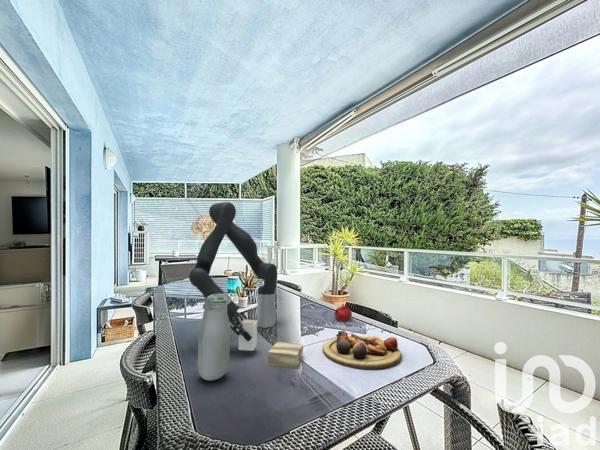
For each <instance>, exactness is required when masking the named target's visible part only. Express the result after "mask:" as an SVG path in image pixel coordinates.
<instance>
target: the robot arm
mask: <svg viewBox="0 0 600 450" xmlns="http://www.w3.org/2000/svg"><path fill="white" fill-rule="evenodd" d="M208 213H209V217H210V218H211V221H213V223H214V224H215V227H214V228H213V230H212V231H211V232H210V234H209V235H208V236H207V237H206V239H205V240H204V241H203V242H202V245H201V247H200V249H199V252H198V254H197V258H196V264H195V265H194V268H193V269H192V270H190V272H189V275H188V279H189V282H190V285H192V286H193V287H195V288H196V289H197V290H198V291H199V292H200V293H201V294H202V296H203V297H204V298H205V300H206V298H207V297H208V296H210V295H212V294H223V295H224V296H225V297H226V299H227V314H228V318H229V321H230V330H231V331H233V332H234V333H235V335H237V336H238V337H239V335H242V336H243V337H244V338H245V339H246V340H247V341H250V340H251V339H252V337H251V336H250V335H249V333H248V332H247V331H246V330H245V329H244V328H243V324H242V321H243V320H245V319H246V320H249V318H248V317H247V316H246V314H245V313H244V312H243V311H241V312H240V313H239V309H240V307H239V306H238V305H237V304H236V303H235V301H234V300H233V299H232V298H231V297H230V296H229V295H227V293H225V292H224V291H223V290H222V288H221V287H220V286H219V285H218V284H217V283H216V282H215V281H214V280H213V278H212V277H211V275H210V272H211V269H212V266H213V264H214V261H215V258H216V257H217V253H218V251H219V249H220V245H221V243H222V241H223V240H224V237H225V236H226V237H227V238H228V240H230V243H232V245H233V246H234V247H235V248H236V250H237V251H238V253H239V254H240V255H241V256H242V257H243V258H244V260H245V261H246V263H247V264H248V265H249V267H250V268H251V270H252V271H253V274H254V276H256V278H257V279H259V280H260V281H263V285H262V286H259V287H258V288H257V304H256V305H257V307H256V321H257V328H261V327H262V328H263V329H266V328H267V329H268V327H269V328H272V326H273V327H274V326H275V325H276V317H277V312H276V311H277V307H276V305H275V303H276V302H275V301H276V296H275V295H276V290H277V289H276V288H277V284H278V268H277V266H276V264H274V263H271V262H270V263H269V262H264V261H263V260H262V259H261V258H260V256H259V254H258V246H257V242H256V241H255V240H254V239H253V237H252V236H251V235H250V234H249V233H248V232H247V231H246V230H244V229H243V228H242V227H239V226H238V225H237V224H235V222H233V221H234V220H235V218H236V214H237V209H236V206H235V205H234V204H233V203H232V202H230V201H224V202H223V201H222V202H217V203H213V204H212V205H211V206H210V207H209V211H208ZM239 324H240V326H239ZM274 324H275V325H274ZM241 328H242V329H241Z"/></svg>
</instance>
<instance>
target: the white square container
mask: <svg viewBox="0 0 600 450" xmlns="http://www.w3.org/2000/svg"><path fill="white" fill-rule="evenodd" d="M242 324H243V328H244V329H245V330H246V331H247V332H248V333H249V335H250V336H251V337H252V339H251V340H250V341H247V340H246V339H245V338H244V337H243V336H242V335H239V336H238V351H251V352H252V351H254V350H255V349H256V347H257V346H258V345H257V344H258V326H257V319H248V320H246V319H245V320H243V321H242ZM239 326H240V324H239ZM241 329H242V328H241Z"/></svg>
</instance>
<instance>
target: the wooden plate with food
mask: <svg viewBox="0 0 600 450" xmlns="http://www.w3.org/2000/svg"><path fill="white" fill-rule="evenodd" d="M335 336H336V338H331V339H329V340H327V341H326V342H325V343H324V344H323V346H322V353H323V355H324V357H326V358H327V359H328V360H330V361H331V362H333V363H336V364H338V365H341V366H344V367H348V368H354V369H361V370H363V369H364V370H377V369H378V370H379V369H385V368H390V367H392V366H394V365H396V364H398V363H399V362H400V361H401V358H402V352H401V350H400V349H399V348H398V346H399V344H398V339H397V338H396V337H394V336H393V337H392V336H391V337H388V338H386V339H384V340H383V339H381V338H379V337H378V336H375V335H374V336H371V335H370V336H359V335H357V334H354V333H351V334H350V335H348V332H346V330H345V329H344V330H338V332H337V334H336V335H335Z"/></svg>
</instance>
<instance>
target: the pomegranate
mask: <svg viewBox="0 0 600 450" xmlns="http://www.w3.org/2000/svg"><path fill="white" fill-rule="evenodd" d="M352 315H353V313H352V310H351V309H349V307H347V306H346V305H345V303H343V304H341V305H340V306H336V310H335V311H334V317H335V320H337V321H338V320H341V321H340V322H343V321H346V322H349V321H350V320H351V319H352ZM348 320H349V321H348Z"/></svg>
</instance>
